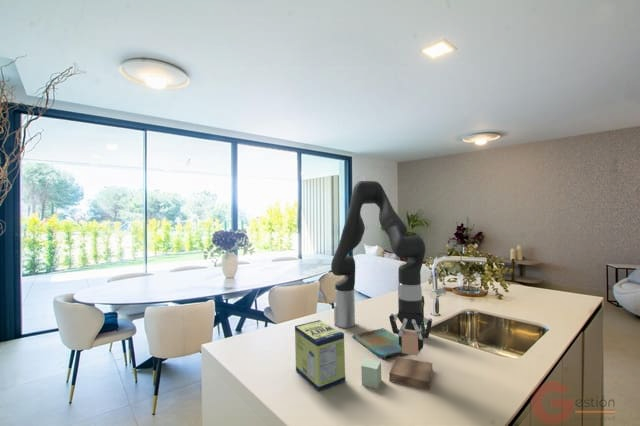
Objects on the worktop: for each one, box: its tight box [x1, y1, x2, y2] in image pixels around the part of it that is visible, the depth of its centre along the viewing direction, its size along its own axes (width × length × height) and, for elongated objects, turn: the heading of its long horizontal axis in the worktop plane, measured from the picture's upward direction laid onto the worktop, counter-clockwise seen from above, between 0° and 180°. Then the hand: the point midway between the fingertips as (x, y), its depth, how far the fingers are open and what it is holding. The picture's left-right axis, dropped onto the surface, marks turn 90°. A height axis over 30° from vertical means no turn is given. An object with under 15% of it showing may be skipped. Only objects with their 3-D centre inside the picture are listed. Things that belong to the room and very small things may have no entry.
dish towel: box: [351, 327, 409, 361], centre depth 122 cm, size 17×23×2 cm
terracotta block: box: [402, 329, 420, 356], centre depth 98 cm, size 5×5×6 cm
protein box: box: [294, 319, 346, 392], centre depth 99 cm, size 10×16×16 cm
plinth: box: [388, 356, 434, 390], centre depth 98 cm, size 12×12×2 cm
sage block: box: [361, 358, 382, 389], centre depth 94 cm, size 5×5×6 cm
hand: (411, 347), depth 98 cm, fingers closed on terracotta block, 5 cm apart
